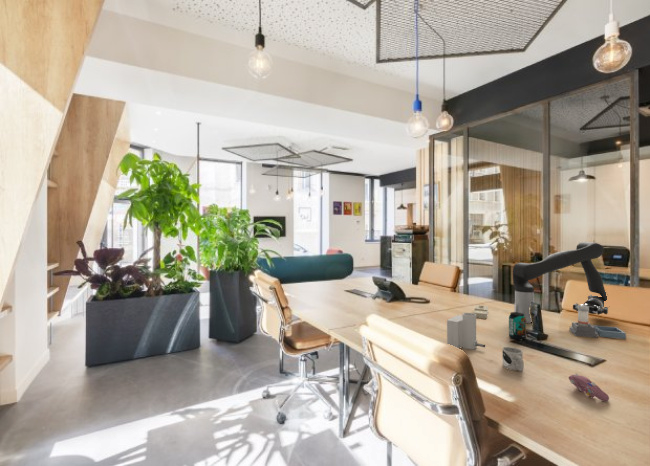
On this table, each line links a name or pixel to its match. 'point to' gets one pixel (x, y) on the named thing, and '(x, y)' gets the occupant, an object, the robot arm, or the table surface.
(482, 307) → the electrical outlet
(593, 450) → the table surface
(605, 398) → the video game controller
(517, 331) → the beverage can
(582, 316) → the cylinder
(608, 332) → the tray
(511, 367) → the mug
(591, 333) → the block
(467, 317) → the grey stepped block
